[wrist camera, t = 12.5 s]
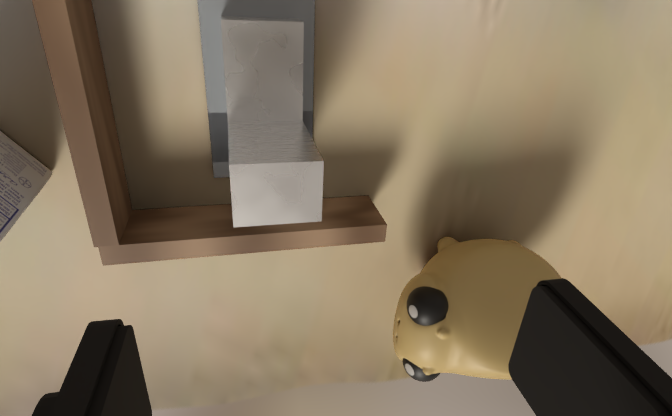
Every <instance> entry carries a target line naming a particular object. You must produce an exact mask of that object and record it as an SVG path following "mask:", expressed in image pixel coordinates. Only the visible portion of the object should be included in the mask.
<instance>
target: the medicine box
mask: <svg viewBox="0 0 672 416" xmlns="http://www.w3.org/2000/svg"><path fill="white" fill-rule="evenodd" d="M51 175H52V171H51V170H49V169H48V168H47V167H46V166H44V165H43V164H42V163H40V162H39V161H38V160H37V159H35V158H34V157H33V156H32V155H30V154H29V153H28V152H26V151H25V150H24V149H23V148H21V147H20V146H19V145H17V144H16V143H15V142H14V141H12V140H11V139H10V138H8V137H7V136H6V135H5V134H3V133H2V132H1V131H0V241H1V240H2V239H3V238H4V237H5V235H6V234H7V233H8V231H9V230H10V229H11V228H12V226H13V225H14V224H15V223H16V221H17V220H18V218H19V217H20V216H21V214H22V213H23V212H24V211H25V210H26V208H27V207H28V206H29V205H30V203H31V202H32V201H33V199H34V198H35V197H36V196H37V194H38V193H39V192H40V190H41V189H42V188H43V186H44V185H45V184H46V182H47V181H48V180H49V178H50V177H51Z"/></svg>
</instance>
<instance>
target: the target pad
mask: <svg viewBox="0 0 672 416" xmlns="http://www.w3.org/2000/svg"><path fill="white" fill-rule="evenodd" d="M198 11H199V22H200V32H201V43H202V54H203V65H204V75H205V86H206V97H207V107H208V118H209V129H210V140H211V150H212V161H213V172H214V178H220V177H230V172H229V148H228V118H227V103H226V89H225V74H224V59H223V45H222V30H221V16H238V17H270V18H298V19H300V20H301V21H303V22H304V45H303V122H304V124H305V126H306V128H307V130H308V132H309V134H310V136H311V138H312V129H313V76H314V24H315V0H198Z"/></svg>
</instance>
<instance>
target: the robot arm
mask: <svg viewBox="0 0 672 416" xmlns="http://www.w3.org/2000/svg"><path fill="white" fill-rule="evenodd" d="M508 369H509V373H510V376H511V378H512V380H513V381H514V383H515V384H516V386H517V387H518V389H519V390H520V392H521V393H522V395H523V396H524V398H525V399H526V401H527V402H528V404H529V405H530V407H531V408H532V410H533V411H534V413H535V414H536V416H672V378H671V377H670V376H669V375H667V373H665V372H664V371H663V370H662V369H661V368H660V367H659V366H658V365H657V364H656V363H655V362H654V361H653V360H652V359H651V358H650V357H649V356H647V355H646V354H645V353H644V352H643V351H642V350H641V349H640V348H639V347H638V346H637V345H636V344H635V343H634V342H633V341H632V340H631V339H630V338H628V337H627V336H626V335H625V334H624V333H623V332H622V331H621V330H620V329H619V328H618V327H617V326H616V325H615V324H614V323H613V322H612V321H611V320H609V319H608V318H607V317H606V316H605V315H604V314H603V313H602V312H601V311H600V310H599V309H598V308H597V307H596V306H595V305H594V304H593V303H591V302H590V301H589V300H588V299H587V298H586V297H585V296H584V295H583V294H582V293H581V292H580V291H579V290H578V289H577V288H576V287H575V286H573V285H572V284H571V283H570V282H569V281H568V280H566V279H563V278H562V279H551V280H542V281H540V282H538V284H537V286H536V287H534V288H533V289H532V291H531V294H530V297H529V300H528V303H527V306H526V310H525V313H524V316H523V319H522V322H521V325H520V329H519V332H518V335H517V338H516V341H515V344H514V348H513V351H512V354H511V357H510V360H509V364H508ZM32 416H152V410H151V405H150V401H149V396H148V392H147V388H146V383H145V379H144V374H143V370H142V366H141V361H140V357H139V352H138V348H137V344H136V339H135V335H134V330H133V327H132V326H131V325H127V326H124V325H123V322H122V320H121V319H115V320H104V321H93V322H90V323H89V324H88V326H87V328H86V330H85V333H84V335H83V337H82V340H81V342H80V344H79V347H78V349H77V351H76V354H75V356H74V358H73V361H72V363H71V366H70V368H69V370H68V373H67V375H66V377H65V380H64V382H63V384H62V387H61V389H60V391H59V392H55V393H48V394H45V395H44V396H43V397H42V398H41V399H40V401H39V402H38V404H37V406H36V408H35V410H34V412H33V414H32Z"/></svg>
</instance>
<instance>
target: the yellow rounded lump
mask: <svg viewBox="0 0 672 416" xmlns="http://www.w3.org/2000/svg"><path fill="white" fill-rule="evenodd" d="M437 248H438V253H437V254H436V255H435V256H433V257H432V258H431V259H430V260H429V261H428V263H427V264H426V265H425V266H424V268H423V269H422V271H421V273H420V274H418V275H416V276H415V277H414V278H412V279H411V280H410V281H409V282H408V284H407V285H406V286H405V288H404V290H403V292H402V294H401V296H400V299H399V302H398V306H397V310H396V314H395V320H394V328H393V342H394V349H395V352H396V355H397V356H398V358H399V359H400V360H402V361H403V365H404V368H405V370H406V372H407V373H408V374H409V375H410V376H411V377H412V378H413V379H415V380H418V381H423V382H424V381H425V382H426V381H431V380H433V379H435V378H436V377H437V376H438V375H439V374H440V373H456V374H461V375H467V376H473V377H482V378H492V379H510V380H512V378H511V376H510V373H509V369H508V364H509V360H510V357H511V354H512V351H513V348H514V344H515V341H516V338H517V335H518V332H519V329H520V325H521V322H522V319H523V316H524V313H525V310H526V306H527V303H528V300H529V297H530V294H531V291H532V289H533V288H534V287H536V286H537V284H538V282H540V281H542V280H551V279H562V278H561V277H560V275H559V274H558V273H557V271H556V270H555V269H554V268H553V267H552V266H551V265H550V264H549V263H548V262H547V261H546V260H544V259H543V258H542V257H540V256H539V255H538V254H536V253H534V252H533V251H531V250H529V249H527V248H525V247H523V246H521V245H520V244H519V243H518V242H517V241H514V240H508V241H504V240H498V239H475V240H468V241H463V242H458V241H456V240H455V239H453V238H451V237H444V238H442V239H440V240H439V242H438V245H437Z"/></svg>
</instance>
